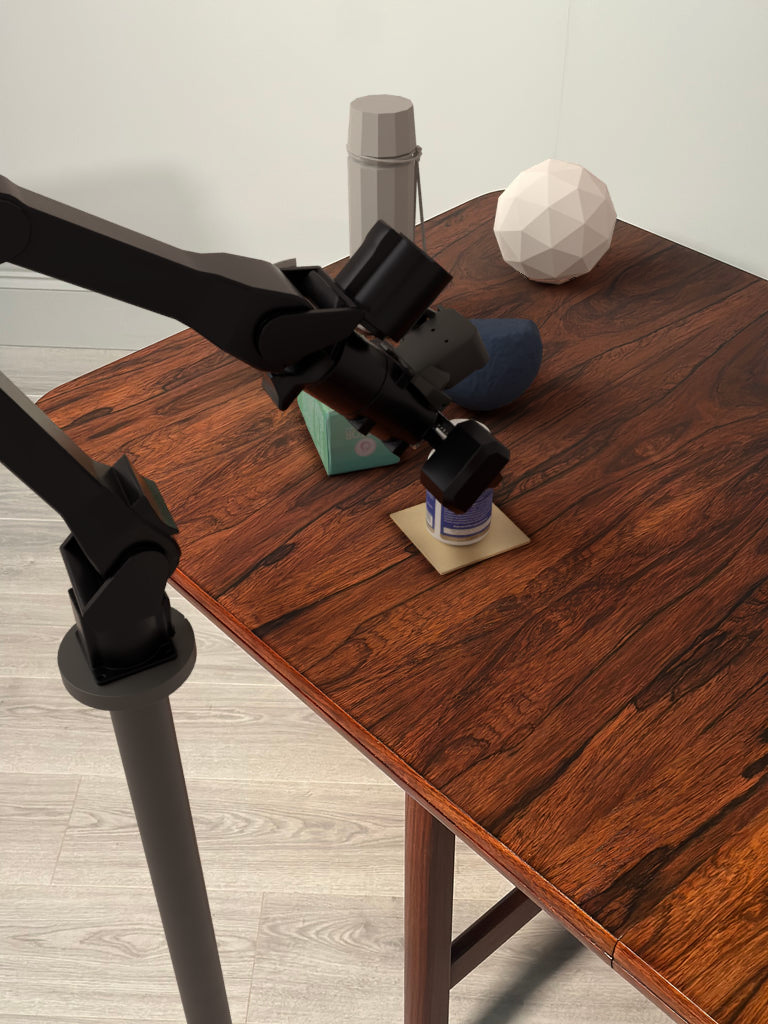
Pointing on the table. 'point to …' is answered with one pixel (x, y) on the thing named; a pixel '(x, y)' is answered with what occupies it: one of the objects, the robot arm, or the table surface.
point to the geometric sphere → (554, 221)
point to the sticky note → (456, 557)
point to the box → (341, 440)
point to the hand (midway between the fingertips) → (476, 460)
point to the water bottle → (382, 168)
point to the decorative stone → (501, 364)
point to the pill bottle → (463, 525)
